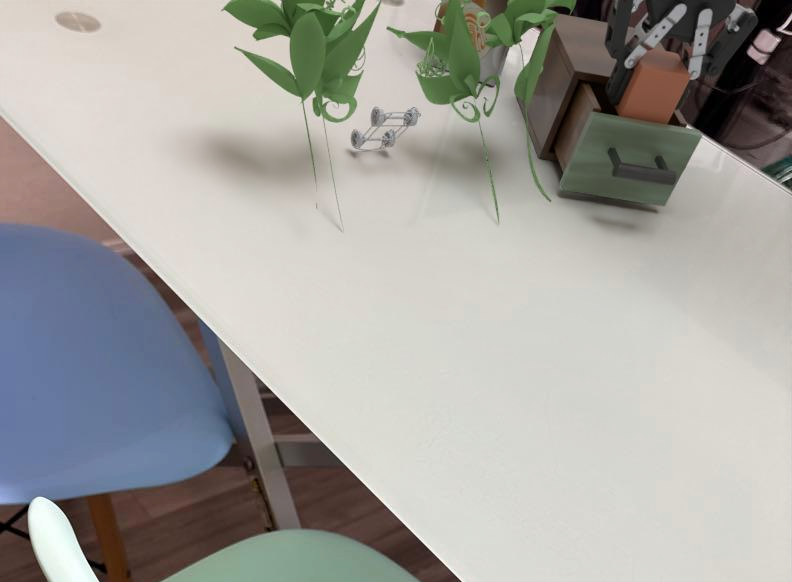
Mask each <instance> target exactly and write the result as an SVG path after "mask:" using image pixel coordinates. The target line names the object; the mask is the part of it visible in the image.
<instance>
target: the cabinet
mask: <svg viewBox="0 0 792 582" xmlns="http://www.w3.org/2000/svg"><path fill="white" fill-rule="evenodd" d="M556 21H558V23H557V25H556V26H555V28H554V29H553V31H552V35H551V38H550V42H549V46H548V49H547V53H546V56H545V59H544V62H543V71H542V73H541V74H540V75H539V78H538V81H537V84H536V87H535V90H534V92H533V95H532V97H531V99H530V102H529V104H528V106H527V120H528V133H529V136H530V138H531V141H532V143H533V146H534V149H535V152H536V154H537V155H536V156H537V157H538V159H541V160H545V161H553V162H558V163H559V160H558V158H557V155H556V152H555V150H554V147H553V145H552V142H553V140H554V138H555V135H556V133H557V130H558V128H559V126H560V123H561V121H562V118H563V116H564V114H565V111H566V109H567V107H568V104H569V102H570V99H571V97H572V95H573V92H574V90H575V87H576V85H577V83H578V80H579V79H580V80H586V81H591V82H597V83H602V84H607V82H608V81H609V78H610V75H611V73H612V71H613V69H614V66H615V64H616V62H617V60H616V59H613V58H611V56H610V54H609V52H608V50H607V49H606V47H605V44H604V42H605V37H606V31H607V26H608V22H606V21H600V20H595V19H590V18H584V17H579V16H574V15H569V14H563V13H558V16H557V17H556V18H555V19H554V20H553V21H552V23H551V24H550V23H549V25H548V27H549V26H551V25H552V24H553V23H555V22H556ZM634 29H635V27H632V26H628V30H627V35H626V40H625V42H626V41H627V40H628V39H629V38H630V36H631V35H632V34H633V32H634ZM544 31H545V29H544V28H543V27H542V26H541V28H540V31H539V34H538V37H537V38H536V42H535V45H534V48H533V51H532V52H531V56H530V58H529V61H531V60H532V56H533V53H534V50H535V47H536V44H537V42H538V40H539V38H540V36H541V35H542V33H543V32H544ZM653 49H656V50H662V51H666V48H664V46H663V44H662V42H661V40H660V41H659V43H658V44H657V45H656V46H655V47H654V48H653ZM529 61H528V62H529ZM690 93H691V90H690V89H689V91H688V93H687V95H686V97H685V99H684V101H683V103H682V105H681V106H680V107H679V108H678V109H679V111H680V112H681V111H682V108H683V107H684V104H685V102H686V101H687V98H688V96H689V95H690ZM515 96H516V95H515ZM516 99H517V102H518V105H519V107H520V110H521V113H522V116H523V118H524V121H525V123H526V108H525V100H522V99H520V98H519V97H517V96H516Z"/></svg>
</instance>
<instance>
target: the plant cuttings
mask: <svg viewBox="0 0 792 582" xmlns="http://www.w3.org/2000/svg"><path fill="white" fill-rule="evenodd" d="M280 1H281V2H280V6H279V5H278V4H277V3H275V2H274V1H273V0H229V1H228V2H227V3H226V4H225V5H224V6H223V7H222V9H220V12H224V11H225V12H227V13H228V14H230V15H231V16H232V17H234V18H235V19H236V20H238V21H239V22H241V23H242V24H244V25H247V26H249V27H252V28H255V31H254V32H253V33H252V37H253V39H255V42H259V41H262V40H265V39H270V38H274V37H278V36H284V37H287V38H288V39H289V59H290V65H291V69H292V72H293V73H292V72H291V71H290V70H289V69H288V68H287V67H284V66H283V65H282V64H280V63H278V62H276V61H274V60H273V59H271V58H267V57H265V56H262V55H259V54H256V53H254V52H250V51H247V50H245V49H241V48H240V47H238V46H234V47H233V48H234V50H237V51H238V52H241V53H242V54H243V55H244V56H245V58H247V59H248V60H249V61H250V62H251V64H253V65H254V66H255V67H256V68H257V69H258V70H260V71H261V72H262V73H263V74H264V75H265V76H266V77H267V78H269V79H270V80H271V81H272V82H273V83H275V84H276V85H278V87H280V88H281V89H283V90H284V91H286V92H287V93H289V94H292V95H294V96H295V97H299V98H300V99H301V101H300V103H299V105H300V104H302V109H303V110H302V111H303V115H304V116H303V117H304V121H305V127H306V132H307V133H306V134H307V139H308V145H309V150H310V156H311V162H312V168H313V174H314V180H315V181H314V182H317V176H316V167H315V159H314V153H313V147H312V143H311V136H310V131H309V126H308V120H307V115H306V109H305V103H304V102H305V101H306V100H307V99H308V98H309V97H310V96H311V95H312V94H313V93H314V94H315V97H313V98H311V100H312V110H313V113H314V114H315V116H316V117H318V118H320V117H322V120H323V127H324V133H325V140H326V145H327V149H328V150H327V151H328V158H329V162H330V171H331V175H332V181H333V187H334V188H336V185H335V179H334V174H333V167H332V162H331V156H330V155H331V154H330V148H329V142H328V136H327V130H326V122H325V120H326V121H328V122H330V123H343V122H345V121H347V120H348V119H350V118H351V117H352V116H353V114H354V113H355V111H356V110H357V107H358V101H357V99H356V97H355V95H356V92H357V90H358V87H359V83H360V81H361V78H362V76H363V74H364V72H365V70H364V69H362V68H363V67H364V65H365V63H366V47H365V44H366V41H367V39H368V37H369V34H370V32H371V30H372V27H373V25H374V23H375V20H376V18H377V15H378V12H379V9H380V7H381V4H382V0H380V1H379V2H378V4H377V5H376V6H375V7H374V9H373V10H372V12H370V14H368V16H367V17H365V19H364V20H363V21H362V22H361V23H360V24H359V25H358V26H357V27H356V28H354V26H355V25H356V23H357V21H358V19H359V17H360V15H361V13H362V9H363V8H364V4H365V2H366V0H355V1H354V2H353V4H352V5H347V6H345V7H343V8H342V11H341V12H339V11H335V10H333V9H334V8H335V3H336V1H337V0H280ZM340 1H341V3H343V4H346V1H345V0H340ZM441 1H442V2H441ZM445 1H446V0H440V2H439V4H437V6H436V8H435V10H434V17H435V19H438V20H439V21H441V23H442V25H444V29H445V35H444V34H441V33H438V32H433V30H418V31H409V32H406V31H405V30H400V29H396V28H393V27H391V26H386V28H385V29H386V30H387V31H389V32H391V33H393V34H394V35H395V36H396V37H397V38H398V39H406V40H407V41H408V42H410V43H411V44H412V45H414V46H416V47H418V48H419V49H421V50H422V51H424V52H425V53H424V56H423V59H422V61H419V62H417V63H416V67H417V68H418V69H419V72H418V71H417V70H414V72H415V76H416V78H417V80H418V82H419V85H420V89H421V90H422V92H423V94H424V97H425V98H426V99H427V100H428V102H429V103H430V104H434V105H439V106H443V105H445V106H446V105H450V106H451V107H452V108H453V110H454V111H455V112H456V113H457V115H458V116H459V117H461V118H462V119H463V120H464V121H466V122H468V123H473V124H474V123H477V122H478V125H479V129H480V134H481V135H480V136H481V140H482V145H483V150H484V155H485V160H486V165H487V171H488V176H489V180H490V187H491V192H492V197H493V201H494V208H495V212H496V217H497V222H498V224H500V214H499V206H498V200H497V194H496V189H495V184H494V179H493V175H492V169H491V165H490V161H489V156H488V152H487V147H486V144H485V139H484V134H483V130H482V127H481V123H480V119H481V112H480V110H479V108H478V107H477V106H476V103H474V104H473V103H471V102H469V101H463V103H462V109H464V110H467V109H468V108H469V105H470V106H471V107H472V109H473V112H474V116H473V117H472V118H468V117H466V116H465V115H464V114H463V113H462V112H461V111H460V110H459V109H458V108H457V107H456V104H455V103H457V102H460V101H462V100H465V99H467V98H469V97H473V98H474V99H473V102H476V100H478V98H479V97H480V94H481V93H482V91H483V89H484V88H485V86H486V85H487V84H486V83H487V82H488V81H489V80H491V79H493V80H495V82H496V84H495V86H496V92H495V97H494V100H493V102H492V105H491V106H490V108H489V109H488V110H486V104H487V102H489V99H487V96H486V97H485V96H484V97H483V99H484V102H483V106H482V111H483V114H484V116H485V117H486V118H489V117H490V116H491V115H492V113H493V111H494V108H495V106H496V103H497V100H498V96H499V92H500V88H501V80H500V79H501V78H500V77H498V76H497V75H490V76H489V77H487V78H486V79H485V81H484V82H483V83H482V82H481V85H480V87H479V88H478V85H479V82H480V81H479V78H480V72H481V66H480V59H479V55H478V53H477V50H476V49H475V47H474V45H473V43H472V39H471V35H470V31H469V28H468V25H467V22H466V20H465V17H464V14H463V13H464V12H463V9H464V6H465V4H466V3H468V4H470V3H471V2H472V0H470V1H469V0H463V5H462V6H461V5H460V1H459V0H449V3H448V6H447V10H446V14H445V16H444V17H443V18H442V19H440V18H438V17H437V15H438V14H437V10H439V8H440V5H441V4H442V3H443V2H445ZM468 1H469V2H468ZM325 4H326V7H324V6H325ZM576 5H577V0H509V1H508V3H507V9H506V10H505V12H504V14H503V13H501V14H499V15H498V16H496V17H495V18H494V19H493V20H492V21H491V23H490V24H489V22H490V15H489V14H488V13H486V12H485V11H484V12H480V13H478V14H477V17H478V18H477V26H478V27H479V28H481V29H483V28H486V29H485V32H484V33H487V34H492V35H491V36H490V37H489V38H488V39H487V41H486V42H485V45H487V46H489V47H492V48H495V47H497V46H500V45H506V46H507V47H510V48H513V46H517V45H518V46H519V48H520V52H521V60H522V69H521V71H520V72H519V74H518V76H517V78H516V80H515V83H514V87H513V93H514V95H515V96H517V97H519V98H520V99H522V100H525V108H526V122H525V126H526V142H527V144H526V145H527V154H528V155H527V156H528V161H529V166H530V171H531V175H532V178H533V181H534V183H535V186H536V187H537V188H538V190H539V192H540V193H541V195H542V196H543V197H544V199H546V200H547V202H549V203H552V201H553V200H552V199H551V198H550V196H548V194H547V193H546V192H545V190H544V188H543V186H542V184H541V183H540V181H539V178H538V176H537V173H536V170H535V166H534V163H533V157H532V151H531V144H530V133H529V130H528V120H527V106H528V104H529V102H530V99H531V97H532V95H533V92H534V90H535V87H536V84H537V81H538V78H539V75H540V74H541V73H542V71H543V62H544V59H545V56H546V53H547V49H548V46H549V42H550V38H551V35H552V31H553V29H554V28H555V26H556V25H557V23H558V21H556V22H555V23H553V24H552V25H551V26H549V27H548V25H549V23H550V24H551V23H552V21H553V20H554V19H555V18H556V17H557V16H558V14H559V12H557V11H555V10H552V9H549V8H552V7H565V8H567V9H569V10H570V12H569V14H568V15H569V16H571V14H572V13H573V11H574V9H575V7H576ZM484 15H487V16H486V18H488V22H487V24H486V25H485V26H483V27H482V26H480V25H479V23H478V21H479V18H480V17H482V16H484ZM444 18H445V20H443V19H444ZM443 22H444V23H443ZM540 25H541V28H542V27H543V28H544V29H545V31H544V32H543V33H542V35H541V36H540V38H539V40H538V42H537V41H536V42H537V44H536V43H535V44H536V47H535V46H534V47H535V50H534V49H533V50H534V53H533V56H532V60H531V61H528V62H527V63H526V64H525V63H524V55H523V49H522V45H521V43H522V42H523V39H522V38H521V37H522V36H524V35H525V34H526V33H527V32H528V31H529V30H531V29H533V28H536V27H538V26H540ZM353 28H354V30H353ZM362 51H363V53H362ZM361 53H362V55H361ZM429 53H430V55H429V59H428V54H429ZM431 54H432V56H431ZM360 55H361V56H360ZM426 55H427V56H426ZM430 56H431V58H430ZM433 56H434V57H435V58H436V59H437V60H436V61H437V63H438V65H437V63H436V62H435V60H434V59H433ZM359 57H360V58H359ZM363 57H364V58H363ZM425 57H426V61H425ZM437 57H438V58H440V59H442V60H443V61H442V62H440V59H438V58H437ZM362 58H363V62H362V65H361V66H360V67H358V65H357V64H356V62H358V61H360V60H361V59H362ZM431 59H433V61H434V63H435V64H436V66H437V67H436V70H434V66H433V64H430V65H429V64H428V63H427V60H428V61H429V62H430V61H431ZM424 61H425V62H424ZM444 62H445V64H444ZM441 63H442V65H441ZM443 64H444V66H443ZM447 65H449V71H448V72H449V73H448V75H444V74H445V73H446V71H447V70H446V68H447ZM440 66H441V68H439V67H440ZM354 67H355V68H356V69H354ZM444 68H445V69H444ZM361 69H362V70H361ZM360 70H361V72H360V73H358V74H356V75H349V73H350V72H351V71H353V72H357V71H358V72H359V71H360ZM423 75H424V76H423ZM477 88H478V91H477ZM517 97H516V98H517ZM323 99H328V100H327V101H325V102H324V103H323ZM330 102H333V103H336V104H337V106H338V107H337V108H339V107H340V105H347V104H348V106H349V107H348V108H349V109H348V112H347V114H346V115H345V116H344V117H341V118H338V117H337V118H336V117H334V116H332V115H330V114H329V113H328V111H327V105H328V104H329V103H330ZM465 103H468V104H467V106H465ZM332 106H333V107H335V105H334V104H332ZM393 114H403V115H393ZM421 116H422V113H421V112H420V111H419V109H418V108H417V106H413V107H411V108H408V109H406V111H390V112H384V110H383V109H382V108H380V107H379V106H374V107H373V108H372V110H371V113H370V124H371V126H370V127H369V128H368V129H367V130H366V132H365V133H364V134H363V132H362V131H361V130H358V129H357V128H354V129H353V130H352V131H351V133H350V144H351V146H352V148H354V149H355V150H358V151H365V152H366V151H367V152H369V151H378V150H383V149H386V148H393V147H394V146H395V144H396V140H397V139H398V138H400V137H401V135H402V134H404V133H405V131H407V129H408V128H410V127H415V126H416V125H417V123H418V120H419V118H420V117H421ZM387 120H402V121H403V124H384V123H385V122H387ZM373 127H375V129H374V131H372V133H370V135H369V136H368V137H366V135H367V134H368V133H369V132H370V131H371V130H372V129H373ZM381 127H399V128H398V129H397V130H396V131H395V130H394V129H393V128H391V129H389V130H386V131H385V132H384V134H383V135H382V136H381V137H372V136H373V135H374V134H375V133H376V132H377V131H378V130H379V129H380V128H381ZM403 127H405V128H404V129H403V130H402V132H400V133H399V134H398V135H397V136H396V134H397V133H398V132H399V131H400V130H401V129H402V128H403ZM366 142H381V145H380V147H377V148H370V149H369V148H368V149H366V148H365V149H364V148H361V147H362V146H363V145H364V144H365V143H366ZM315 187H316V190H315V191H318V186H317V184H315ZM334 193H335V198H336V202H337V203H336V204H337V209H338V213H339V218H340V222H341V223H343V220H342V216H341V212H340V211H341V210H340V206H339V201H338V196H337V191H336V189H334ZM315 206H316V207H315V208H316V210H317V209H318V204H316V205H315ZM341 226H342V230H343V231H345V229H344V225H343V224H341Z"/></svg>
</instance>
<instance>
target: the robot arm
mask: <svg viewBox="0 0 792 582" xmlns="http://www.w3.org/2000/svg"><path fill="white" fill-rule="evenodd" d="M643 1H645V5H646V13H645V14H644V16H643V17H642V18H641V19H640V20H639V22H638V23H637V24H636V25H635V27H634V28H635V29H634V32H633V34H632V35H631V36H630V38H629V39H628V40H627V41H626V42H625V40H626V35H627V30H628V27H629V24H630V19H631V15H632V14H634V13H635V12H636V11H637V10H638V9H639V6H640V5H641V3H642V2H643ZM724 20H725V21H724ZM607 21H608V22H607V23H608V26H607V31H606V37H605V42H604V44H605V47H606V49H607V50H608V52H609V54H610V56H611V58H613V59H616V60H617V62H616V64H615V66H614V69H613V71H612V73H611V75H610V78H609V81H608V82H607V85H606V93H607V95H608V100H609V102H610V104H611V105H616V106H618V105H619V103H620V101H621V99H622V97H623V95H624V93H625V90H626V88H627V86H628V84H629V82H630V79H631V77H632V75H633V73H634V71H635V70H634V68H633V67H635V66H636V65H637V63H638V62H639V61H640V60H641V59H642V57H643V56H644V55H645V54H646V53H647V52H648V51H649V50H652V49H653V48H654V47H655V46H656V45H657V44H658V43H659V41H660V42H661V41H662V39H665V40H673V39H677V40H678V41H680V42H681V43H682V53H681V57H680V59H681V60H682V62H683V63H684V65H685V67H686V68H687V70H688V71H689V73H690V75H691V78H690V80H689V82H688V84H687V86H686V88H685V90H684V92H683V94H682V96H681V98H680V100H679V102H678V104H677V106H676V108H675V110H677V109H678V108H679V107H680V106H681V105H682V103H683V101H684V99H685V97H686V95H687V93H688V91H689V90H690V89H691V87H692V85H693V83H694V81H695V80H696V79H698V78H699V77H702V76H707V75H708V76H709V77H717V76H718V75H719V74H720V73H721V71H722V70H723V69H724V68H725V66H726V65H727V64H728V63H729V61H730V60H731V59H732V57H733V56H734V55H735V53H736V52H737V51H738V49H739V48H740V47H741V46H742V44H743V43H744V42H745V41H746V40H747V38H748V37H749V35H750V34H751V33H752V31H753V30H754V29H755V28H756V27H757V26H758V24H759V18H758V16H757V15H756V13H755V12H754V10H753V9H752V8H750V6H749V5H746V4H745V5H741V4H739V3H737V0H612V1H611V6H610V10H609V17H608V20H607ZM722 21H724V28H723V29H722V30H721V31H720V33H719V34H718V35H717V37H716V38H715V39H714V40H713V42H712V43H711V45H710V46H709V47H707V46H708V39H709V34H710V30H712V29H713V28H715V27H716V26H717V25H718V24H720V23H721V22H722Z"/></svg>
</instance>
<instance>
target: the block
mask: <svg viewBox="0 0 792 582" xmlns="http://www.w3.org/2000/svg"><path fill="white" fill-rule="evenodd" d="M633 68H634V70H635V71H634V73H633V75H632V77H631V79H630V82H629V84H628V86H627V88H626V90H625V93H624V95H623V97H622V99H621V101H620V103H619V105H618V106H616V105H614V107H615V109H616V111H617V113H618V115H619V116H621V117H627V118H632V119H638V120H644V121H650V122H655V123H661V124H668V122H669V120H670V118H671V116H672V114H673V112H674V110H675V108H676V106H677V104H678V102H679V100H680V98H681V96H682V94H683V92H684V90H685V88H686V86H687V84H688V82H689V80H690V78H691V75H690V73H689V71H688V70H687V68H686V67H685V65H684V63H683V62H682V60H681V56H680V55H679V53H677V52H672V51H668V50H665V51H662V50H656V49H652V50H649V51H648V52H647V53H646V54H645V55H644V56H643V57H642V59H641V60H640V61H639V62H638V63H637V65H636V66H635V67H633Z"/></svg>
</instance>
